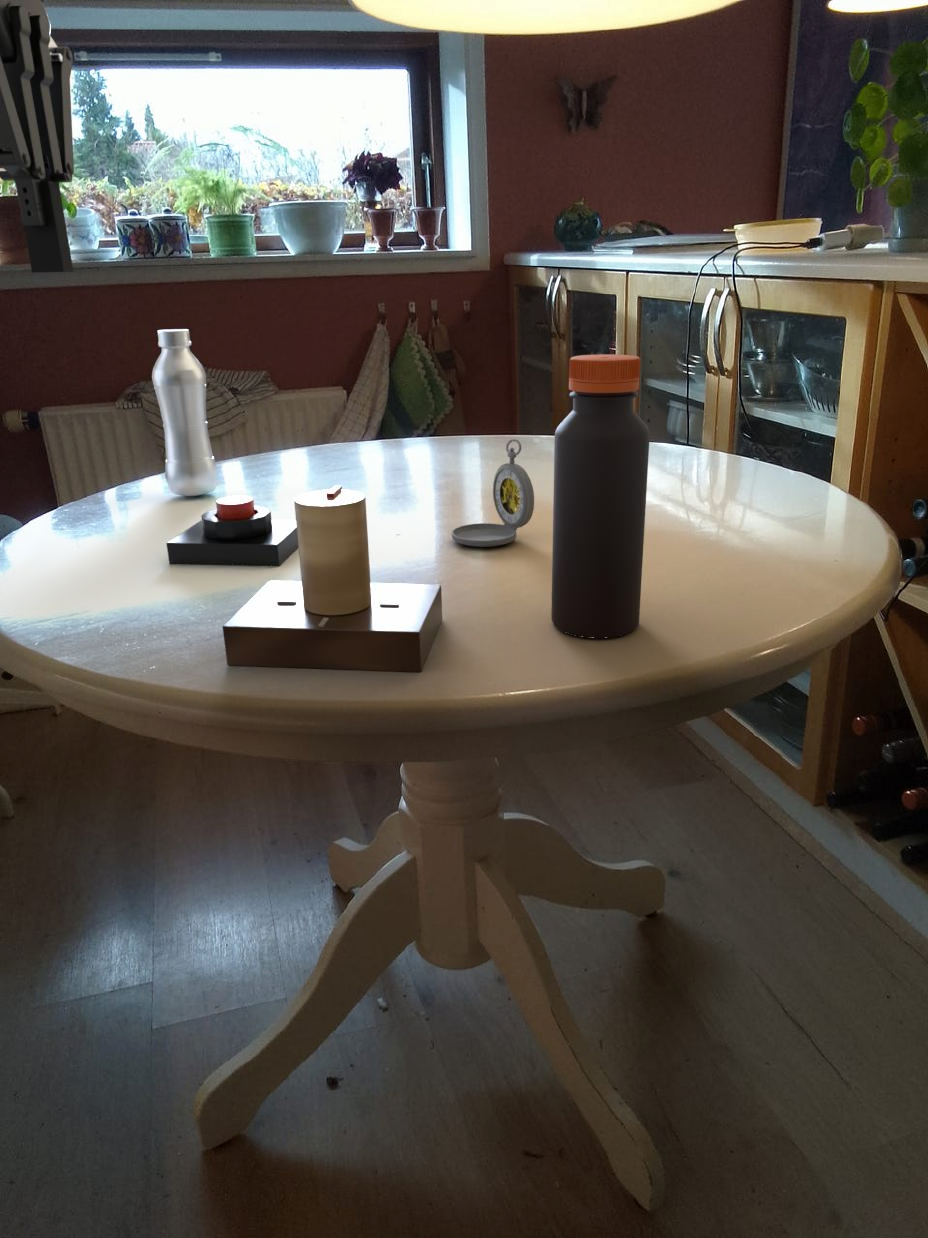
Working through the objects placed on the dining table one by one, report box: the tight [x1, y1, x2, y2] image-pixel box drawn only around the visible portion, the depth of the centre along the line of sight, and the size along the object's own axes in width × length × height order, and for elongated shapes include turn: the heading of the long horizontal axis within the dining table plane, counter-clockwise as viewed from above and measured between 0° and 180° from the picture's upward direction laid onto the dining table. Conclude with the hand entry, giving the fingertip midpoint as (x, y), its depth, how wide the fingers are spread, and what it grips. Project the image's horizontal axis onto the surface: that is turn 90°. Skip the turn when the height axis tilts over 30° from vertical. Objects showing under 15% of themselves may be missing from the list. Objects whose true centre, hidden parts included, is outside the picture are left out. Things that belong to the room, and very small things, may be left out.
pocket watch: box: [451, 438, 535, 548], centre depth 90 cm, size 8×8×10 cm
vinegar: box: [550, 353, 651, 639], centre depth 66 cm, size 7×7×20 cm
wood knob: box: [293, 485, 372, 615], centre depth 64 cm, size 5×5×8 cm
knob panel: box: [222, 580, 443, 673], centre depth 67 cm, size 14×10×3 cm
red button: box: [215, 495, 255, 519], centre depth 88 cm, size 4×4×2 cm
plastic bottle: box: [151, 328, 219, 497], centre depth 110 cm, size 6×7×20 cm
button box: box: [166, 505, 299, 568], centre depth 89 cm, size 11×9×4 cm
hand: (52, 271), depth 72 cm, fingers closed
